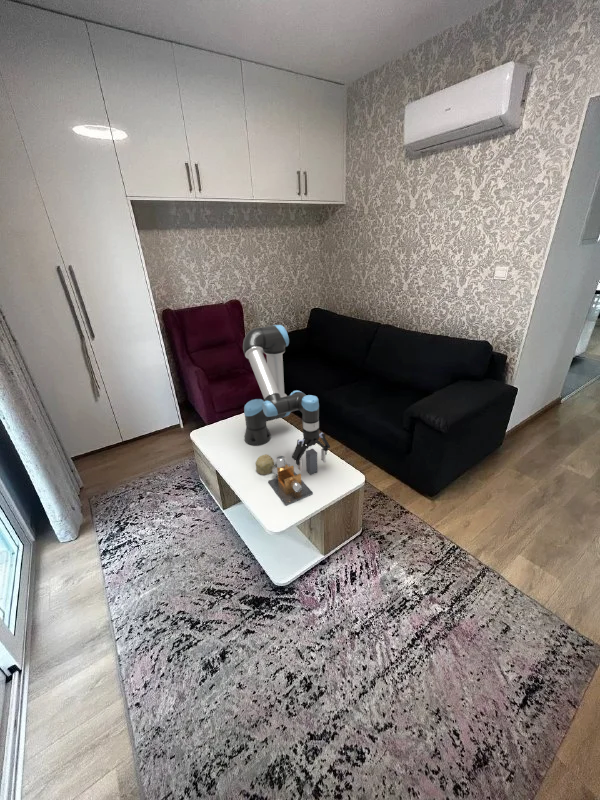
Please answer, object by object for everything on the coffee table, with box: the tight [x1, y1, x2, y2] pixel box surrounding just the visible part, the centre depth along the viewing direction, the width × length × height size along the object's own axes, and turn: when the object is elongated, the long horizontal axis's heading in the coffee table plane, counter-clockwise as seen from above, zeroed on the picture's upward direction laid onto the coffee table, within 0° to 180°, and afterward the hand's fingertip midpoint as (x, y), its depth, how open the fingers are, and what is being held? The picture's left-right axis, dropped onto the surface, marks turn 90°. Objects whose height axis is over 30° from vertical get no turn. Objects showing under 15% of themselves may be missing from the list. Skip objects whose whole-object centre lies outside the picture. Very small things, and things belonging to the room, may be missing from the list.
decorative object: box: [255, 454, 275, 476], centre depth 165 cm, size 9×10×10 cm
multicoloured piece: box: [267, 455, 314, 507], centre depth 152 cm, size 22×14×12 cm, turn 29°
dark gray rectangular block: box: [305, 448, 318, 476], centre depth 161 cm, size 4×4×12 cm
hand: (311, 465), depth 162 cm, fingers open, 13 cm apart
